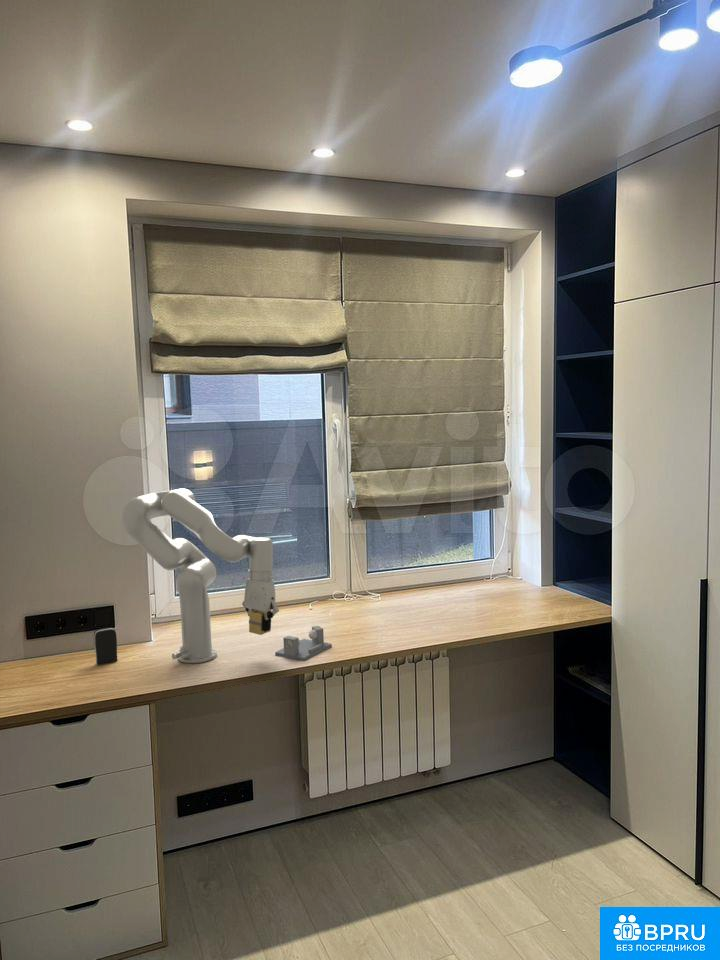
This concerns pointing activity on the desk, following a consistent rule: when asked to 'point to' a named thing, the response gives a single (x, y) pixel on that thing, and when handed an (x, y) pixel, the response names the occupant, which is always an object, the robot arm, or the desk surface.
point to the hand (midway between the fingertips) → (259, 628)
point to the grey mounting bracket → (304, 645)
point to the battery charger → (105, 646)
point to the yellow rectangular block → (256, 622)
